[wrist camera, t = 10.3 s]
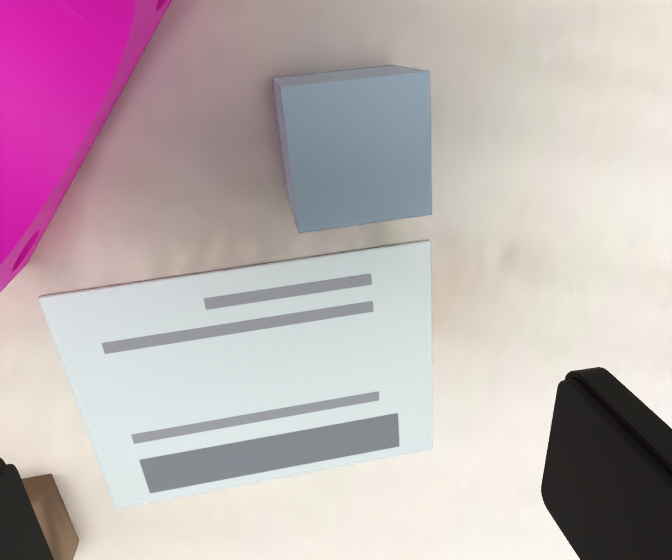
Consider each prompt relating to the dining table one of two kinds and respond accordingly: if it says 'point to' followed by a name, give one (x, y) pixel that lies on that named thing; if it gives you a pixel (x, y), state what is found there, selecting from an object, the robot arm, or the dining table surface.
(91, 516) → the dining table surface
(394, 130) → the slate cube
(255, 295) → the letter
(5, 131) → the toy block
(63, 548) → the walnut cube
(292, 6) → the dining table surface
